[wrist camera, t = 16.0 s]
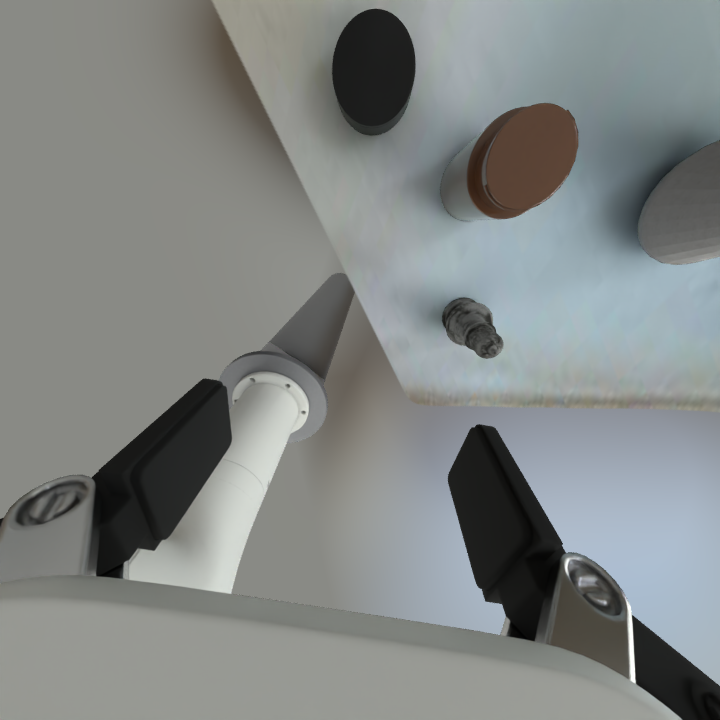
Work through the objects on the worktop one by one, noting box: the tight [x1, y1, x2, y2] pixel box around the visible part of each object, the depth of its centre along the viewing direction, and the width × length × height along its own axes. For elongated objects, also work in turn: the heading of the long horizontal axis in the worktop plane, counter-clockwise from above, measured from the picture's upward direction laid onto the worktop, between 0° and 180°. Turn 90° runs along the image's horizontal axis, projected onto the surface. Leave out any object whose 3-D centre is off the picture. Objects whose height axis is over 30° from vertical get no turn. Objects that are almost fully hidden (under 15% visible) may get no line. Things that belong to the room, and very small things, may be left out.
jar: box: [440, 103, 578, 221], centre depth 23 cm, size 7×7×12 cm
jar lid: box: [332, 9, 415, 135], centre depth 24 cm, size 8×8×3 cm
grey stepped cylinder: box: [442, 298, 503, 359], centre depth 31 cm, size 6×6×12 cm
